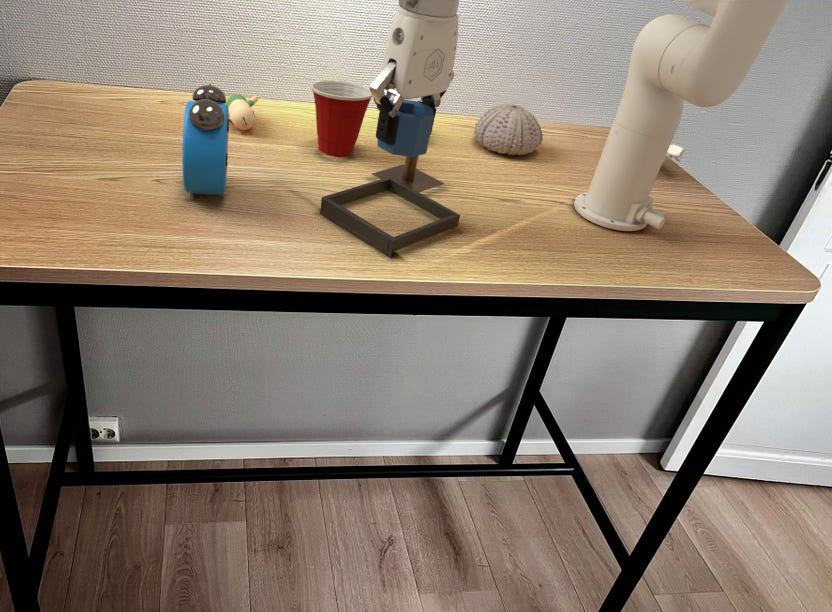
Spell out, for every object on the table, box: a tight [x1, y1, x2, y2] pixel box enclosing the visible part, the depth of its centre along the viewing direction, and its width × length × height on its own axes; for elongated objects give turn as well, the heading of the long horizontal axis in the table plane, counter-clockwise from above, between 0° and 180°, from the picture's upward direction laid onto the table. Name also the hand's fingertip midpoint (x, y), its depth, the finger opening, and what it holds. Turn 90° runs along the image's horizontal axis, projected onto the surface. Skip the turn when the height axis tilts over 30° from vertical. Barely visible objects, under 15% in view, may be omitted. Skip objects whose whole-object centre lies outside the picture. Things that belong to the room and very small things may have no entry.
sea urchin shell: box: [473, 103, 544, 156], centre depth 141 cm, size 13×14×8 cm
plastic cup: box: [310, 79, 373, 158], centre depth 125 cm, size 11×11×12 cm
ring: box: [376, 98, 434, 157], centre depth 102 cm, size 7×7×6 cm
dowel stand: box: [371, 156, 445, 193], centre depth 121 cm, size 9×9×8 cm
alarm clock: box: [181, 83, 230, 200], centre depth 107 cm, size 13×6×15 cm, turn 6°
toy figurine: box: [225, 93, 259, 131], centre depth 133 cm, size 8×4×12 cm
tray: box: [319, 177, 461, 258], centre depth 111 cm, size 15×15×3 cm
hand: (403, 135), depth 103 cm, fingers closed on ring, 7 cm apart
